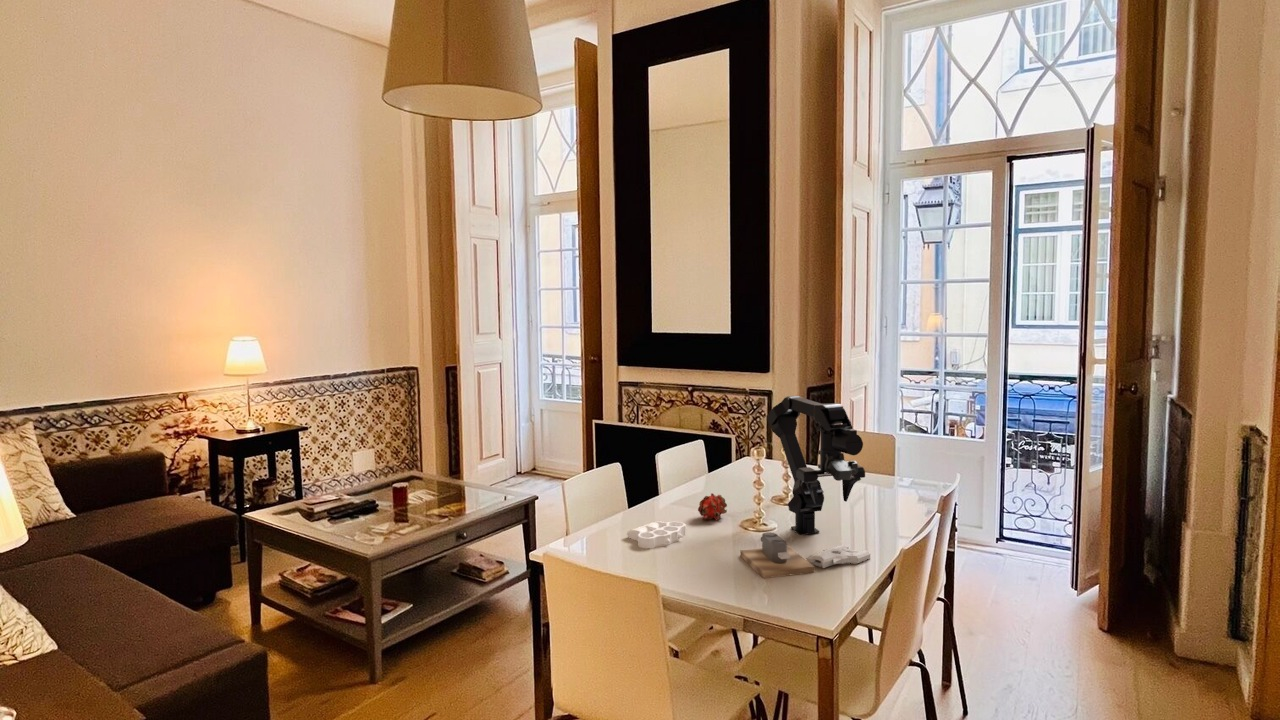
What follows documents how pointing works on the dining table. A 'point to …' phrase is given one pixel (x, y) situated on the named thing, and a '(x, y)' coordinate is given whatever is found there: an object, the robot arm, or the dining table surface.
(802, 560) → the oak board
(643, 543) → the white egg tray
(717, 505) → the dragon fruit
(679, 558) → the dining table surface
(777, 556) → the plug
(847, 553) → the gun
